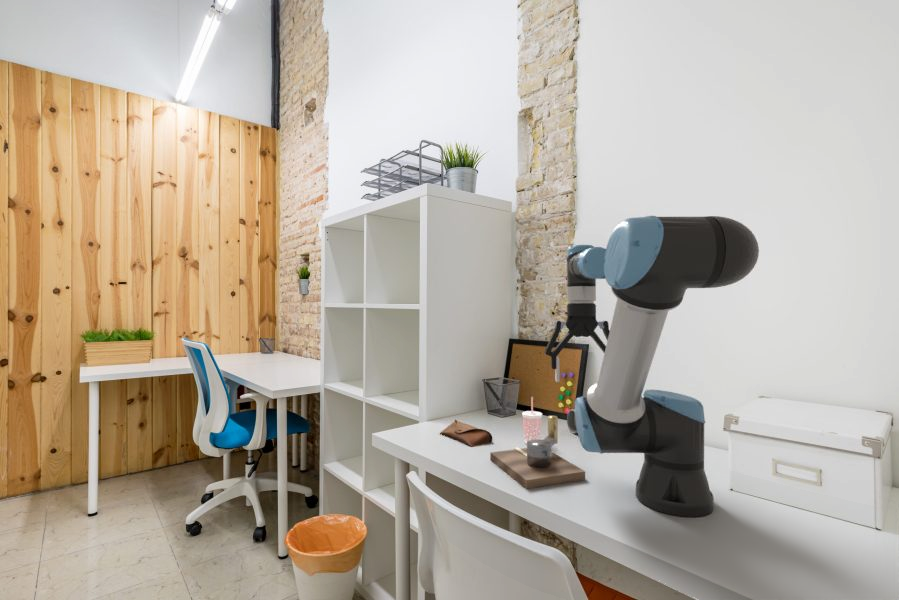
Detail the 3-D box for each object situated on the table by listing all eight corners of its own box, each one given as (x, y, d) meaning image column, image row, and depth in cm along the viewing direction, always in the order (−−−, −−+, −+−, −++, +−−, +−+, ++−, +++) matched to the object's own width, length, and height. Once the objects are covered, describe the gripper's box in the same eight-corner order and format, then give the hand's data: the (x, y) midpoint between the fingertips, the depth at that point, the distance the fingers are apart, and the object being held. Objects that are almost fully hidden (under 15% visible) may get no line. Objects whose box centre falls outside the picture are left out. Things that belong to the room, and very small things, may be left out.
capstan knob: (546, 468, 110) (546, 431, 110) (523, 464, 113) (523, 427, 113) (564, 450, 123) (564, 417, 123) (543, 447, 126) (543, 414, 126)
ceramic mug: (600, 434, 145) (600, 410, 146) (577, 436, 143) (577, 412, 144) (583, 426, 156) (583, 404, 156) (561, 428, 154) (561, 405, 154)
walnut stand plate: (585, 479, 109) (585, 470, 109) (526, 488, 104) (526, 478, 104) (540, 452, 129) (540, 444, 129) (489, 459, 123) (489, 450, 123)
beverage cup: (535, 438, 141) (535, 394, 141) (546, 444, 136) (546, 398, 136) (518, 441, 139) (518, 395, 139) (528, 447, 133) (528, 399, 133)
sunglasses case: (435, 433, 147) (444, 414, 149) (450, 440, 151) (458, 421, 153) (472, 447, 133) (481, 425, 135) (487, 455, 137) (495, 434, 139)
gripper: (623, 302, 126) (623, 379, 125) (534, 302, 128) (534, 378, 128) (632, 302, 118) (632, 384, 118) (537, 302, 120) (537, 383, 120)
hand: (581, 381), depth 123 cm, fingers open, 12 cm apart
